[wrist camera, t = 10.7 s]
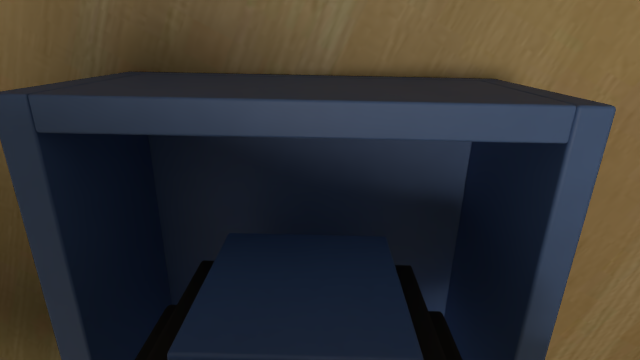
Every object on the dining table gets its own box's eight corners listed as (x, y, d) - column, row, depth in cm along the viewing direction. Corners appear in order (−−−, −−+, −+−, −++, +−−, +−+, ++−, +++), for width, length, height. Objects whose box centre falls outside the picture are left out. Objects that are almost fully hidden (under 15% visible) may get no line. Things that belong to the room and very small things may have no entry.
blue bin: (170, 357, 17) (99, 501, 12) (127, 71, 13) (-14, 93, 8) (446, 364, 17) (502, 512, 12) (495, 78, 13) (619, 106, 8)
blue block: (237, 355, 12) (190, 519, 8) (228, 231, 11) (164, 354, 7) (375, 359, 12) (401, 525, 8) (386, 235, 11) (425, 361, 7)
